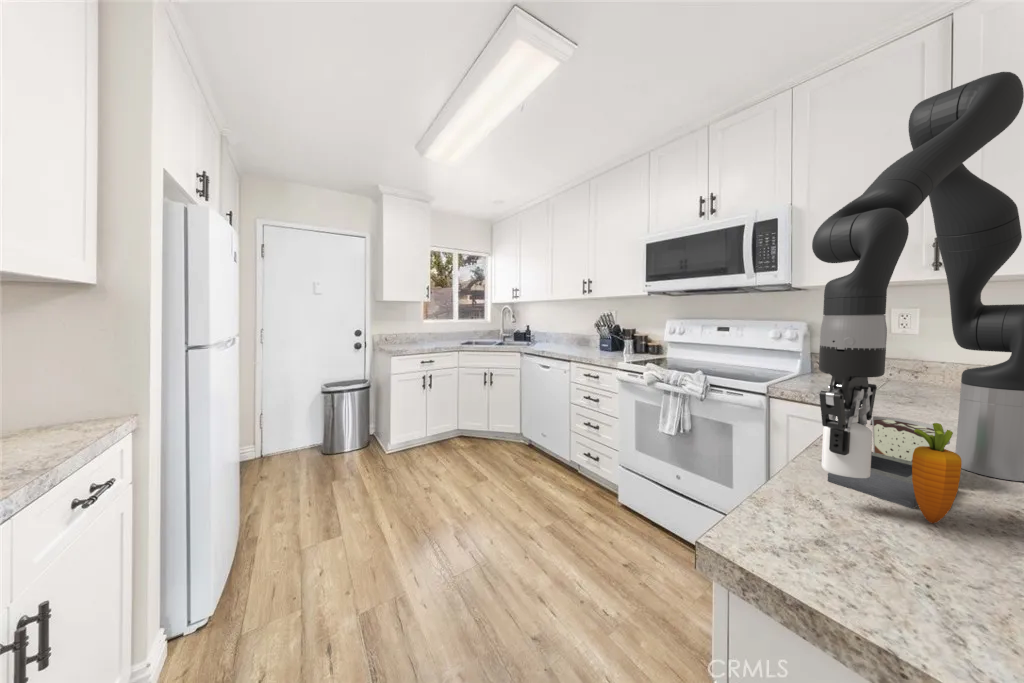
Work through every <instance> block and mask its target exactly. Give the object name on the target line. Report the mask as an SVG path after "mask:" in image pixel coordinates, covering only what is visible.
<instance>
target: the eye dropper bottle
mask: <svg viewBox="0 0 1024 683" xmlns="http://www.w3.org/2000/svg"><path fill="white" fill-rule="evenodd" d="M845 411H849V410H848V409H845ZM858 415H859V410H858ZM836 421H838V417H837V416H836ZM857 422H858V416H857V417H856V418H853V419H852V424H851V430H850V448H849V454H847V455H840V454H837V453H833V452H831V451H830V450H829V444H830V428H828V427H825V426H822V427H823V429H822V445H821V467H822V470H824V471H825V472H827V474H828V473H832V474H836V475H840V476H845V477H852V478H869V477H870V471H871V452H873V450H872V449H873V448H872V447H873V431H872V430H871V429H870V428H869V427H867V425H866V426H864V425H861V424H858V423H857Z"/></svg>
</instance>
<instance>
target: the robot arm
mask: <svg viewBox="0 0 1024 683" xmlns="http://www.w3.org/2000/svg"><path fill="white" fill-rule="evenodd" d="M1023 104H1024V86H1023V83H1022V80H1021V79H1020V77H1019V76H1018V75H1017V74H1016V73H1015V72H1011V71H1001V72H995V73H991V74H987V75H984V76H981V77H979V78H976V79H974V80H971V81H969V82H966V83H964V84H961V85H959V86H956V87H953V88H951V89H948V90H946V91H943V92H940V93H938V94H935V95H933V96H930V97H928V98H926V99H924V100H922V101H920V102H918V103H917V104H916V105H915V106H914V107H913V108H912V110H911V112H910V115H909V119H908V127H907V128H908V136H909V141H910V146H911V148H912V150H911V151H909V152H908V153H906V154H905V155H902V157H900V158H899V159H897V160H896V161H895V162H893V163H892V164H890V165H889V166H888V167H887V168H885V169H884V170H883V171H882V172H881V173H880V174H879V175H878V176H877V177H876V179H875V180H874V181H873V182H872V183H871V184H870V185H868V187H867V188H866V189H865V190H864V192H863V193H862V194H861V195H860V196H858V197H856V198H855V199H853V200H852V201H850V202H848V203H847V204H846V205H844V206H843V207H842V208H840V209H838V210H837V211H836V212H834V213H833V214H831V216H829V217H828V218H827V219H825V220H824V221H823V223H821V225H819V227H818V228H817V230H816V231H815V233H814V235H813V238H812V242H811V245H812V246H811V247H812V248H811V249H812V253H813V254H814V256H815V258H817V259H818V260H820V261H821V262H824V263H827V264H841V263H849V262H857V261H858V262H857V264H856V266H855V268H854V270H853V271H852V272H850V273H849V274H846V275H844V276H840V277H837V278H833V279H831V280H829V281H828V282H827V283H826V284H825V286H824V292H823V313H822V314H823V315H822V321H821V325H820V331H819V332H820V334H819V356H818V370H819V372H821V373H823V374H826V375H827V374H828V375H830V376H831V381H830V383H829V385H828V388H827V390H820V392H819V394H818V395H819V405H820V411H821V413H820V415H821V424H822V427H824V426H825V427H828V428H830V444H829V450H830V451H831V452H833V453H837V454H840V455H847V454H849V448H850V430H851V424H852V419H853V418H856V417H857V416H858V422H857V423H858V424H861V425H864V426H866V427H867V424H868V421H871V419H872V416H873V411H874V405H875V399H876V392H877V389H878V387H877V385H876V384H875V383H869V379H868V378H880V377H883V376H884V375H885V373H886V359H887V358H886V356H887V341H888V340H887V339H888V338H887V337H888V326H887V320H886V317H887V316H886V312H887V311H886V310H887V296H888V295H887V294H888V293H887V291H888V287H889V284H890V282H891V279H892V277H893V275H894V271H895V268H896V266H897V264H898V261H899V260H900V257H901V255H902V253H903V251H904V249H905V246H906V243H907V241H908V238H909V229H910V228H909V223H908V220H907V219H908V218H909V217H911V215H913V214H914V213H915V211H916V210H918V208H919V207H920V206H921V205H922V204H923V202H925V201H926V199H927V198H929V202H930V207H931V211H932V218H933V223H934V224H933V225H934V230H935V236H936V239H937V240H936V241H937V246H938V248H939V253H940V257H941V260H942V264H943V268H944V272H945V276H946V281H947V286H948V293H949V304H950V316H951V317H950V318H951V325H952V326H951V327H952V332H953V337H954V340H955V342H956V343H957V345H958V346H959V347H960V348H961V349H965V350H970V351H979V352H997V353H998V352H1000V353H1011V354H1010V357H1009V358H1008V359H1007V360H1005V361H1003V362H1000V363H996V364H992V365H988V366H981V367H980V366H979V367H972V368H967V369H965V370H963V371H962V373H961V376H960V377H961V380H960V382H961V383H960V391H959V404H958V405H959V406H958V415H957V416H958V417H957V427H956V441H955V443H956V444H955V451H954V453H956V454H958V455H959V456H960V457H961V461H962V466H961V470H962V469H963V470H964V471H968V472H971V473H975V474H979V475H982V476H985V477H991V478H996V479H1001V480H1006V481H1016V482H1024V304H1021V303H1020V304H1016V303H1015V304H983V302H982V297H981V296H982V292H983V290H984V288H985V287H986V285H987V284H988V283H989V281H990V280H991V279H992V277H994V275H995V274H996V273H997V272H998V271H999V270H1000V269H1001V268H1002V267H1003V266H1004V265H1005V264H1006V263H1007V261H1009V259H1010V258H1011V257H1012V256H1013V255H1014V254H1015V252H1016V251H1017V249H1018V247H1019V246H1020V244H1021V242H1022V239H1023V237H1022V236H1023V234H1022V228H1021V220H1020V214H1019V209H1018V206H1017V204H1016V202H1015V201H1014V200H1013V199H1012V198H1011V197H1010V196H1009V195H1008V194H1007V193H1005V192H1003V191H1002V190H1000V189H998V188H997V187H996V186H994V185H992V184H991V183H988V182H986V181H985V180H983V179H982V178H980V177H978V175H976V174H974V173H973V172H972V171H971V170H969V169H968V168H967V167H966V166H965V164H964V163H965V162H966V161H967V160H968V159H970V158H971V157H972V156H974V154H976V153H977V152H979V151H980V150H981V149H982V148H984V147H985V146H986V145H987V144H988V143H990V142H992V141H993V140H994V139H995V138H996V137H997V136H999V135H1001V134H1002V133H1003V132H1004V131H1005V130H1007V129H1008V128H1009V126H1010V125H1012V123H1013V122H1014V121H1015V119H1016V118H1017V117H1018V115H1019V114H1020V112H1021V109H1022V107H1023ZM845 409H848V410H849V411H845ZM858 410H859V415H858ZM837 417H838V419H837ZM837 420H838V421H837Z"/></svg>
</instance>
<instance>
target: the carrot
mask: <svg viewBox="0 0 1024 683" xmlns="http://www.w3.org/2000/svg"><path fill="white" fill-rule="evenodd" d="M932 425H933V428H934V431H935V436H933V435H929V436H928V435H927V434H926V433H925V432H923V431H921V430H919V429H915V430H914V432H915V433H917V434H919V435H921V436H922V437H923V438H924V439H925V440H926V441H927V442H928V444H929V446H920V447H917V448H915V450H914V452H913V458H912V482H913V488H914V493H915V497H916V501H917V503H918V506H917V507H919V510H920V512H921V513H922V516H923V517H924V518H925V520H926V521H927V522H929V524H932V525H933V524H936V523H937V524H938V523H939V522H940V521H942V519H944V517H945V516H946V515H947V514H948V513H949V511H950V510H951V508H952V506H953V504H954V502H955V500H956V497H957V494H958V491H959V485H960V481H961V480H960V479H961V472H962V468H961V466H962V461H961V457H960V456H959V455H958V454H956V453H955V451H952V450H948V449H947V448H946V449H945V447H946V446H947V443H948V442H949V440H951V438H952V436H953V434H954V432H953V431H952V430H950V429H946V433H945V435H944V430H943V429H944V428H943V425H942V424H941V423H938V422H934V423H933V422H932Z"/></svg>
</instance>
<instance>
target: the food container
mask: <svg viewBox="0 0 1024 683" xmlns="http://www.w3.org/2000/svg"><path fill="white" fill-rule="evenodd" d="M869 421H870V422H869V425H870V426H872V447H873V448H872V449H873V450H872V452H875V453H879V454H883V455H887V456H891V457H895V458H899V459H903V460H908V461H912V458H913V452H914V450H915V448H917V447H920V446H929V444H928V442H927V441H926V440H925V439H924V438H923V437H922V436H921V435H919V434H917V433H915V432H914V430H915V429H919V430H921V431H923V432H925V433H926V434H927V435H928V436H929V435H933V436H935V431H934V428H933V424H931V423H926V422H922V421H917V420H912V419H907V418H906V419H905V418H899V417H893V416H891V417H890V416H889V417H888V416H882V415H881V416H880V415H878V416H877V415H875V416H874V415H872V418H871V420H869ZM943 430H944V435H945V433H946V431H947V429H945V428H943ZM950 440H951V439H950ZM950 440H949V442H948V443H947V445H950V444H951V441H950ZM947 445H946V446H947Z"/></svg>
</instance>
